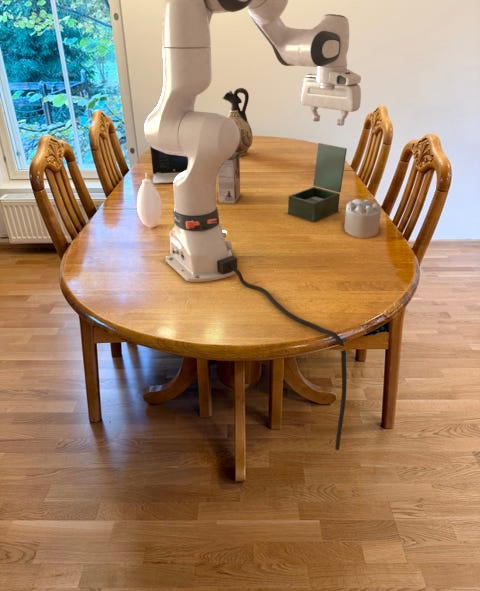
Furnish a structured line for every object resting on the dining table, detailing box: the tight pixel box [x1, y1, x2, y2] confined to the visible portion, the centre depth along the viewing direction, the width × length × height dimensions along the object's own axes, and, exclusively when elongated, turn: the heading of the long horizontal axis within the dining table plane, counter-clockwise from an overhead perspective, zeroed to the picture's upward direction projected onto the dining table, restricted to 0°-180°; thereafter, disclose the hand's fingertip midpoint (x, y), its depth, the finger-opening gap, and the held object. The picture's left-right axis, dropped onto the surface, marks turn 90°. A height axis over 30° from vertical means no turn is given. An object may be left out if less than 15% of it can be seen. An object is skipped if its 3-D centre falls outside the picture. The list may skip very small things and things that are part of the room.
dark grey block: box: [306, 196, 323, 203], centre depth 165 cm, size 9×6×4 cm, turn 134°
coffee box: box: [217, 152, 241, 204], centre depth 176 cm, size 9×6×16 cm
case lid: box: [312, 142, 348, 194], centre depth 166 cm, size 14×11×5 cm
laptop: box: [149, 145, 188, 185], centre depth 199 cm, size 18×12×13 cm
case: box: [287, 186, 341, 223], centre depth 165 cm, size 14×11×6 cm
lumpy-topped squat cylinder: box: [343, 198, 382, 239], centre depth 151 cm, size 10×13×9 cm
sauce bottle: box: [136, 171, 163, 229], centre depth 153 cm, size 8×8×18 cm
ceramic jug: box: [221, 87, 254, 157], centre depth 229 cm, size 17×15×30 cm
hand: (328, 123), depth 155 cm, fingers open, 8 cm apart
